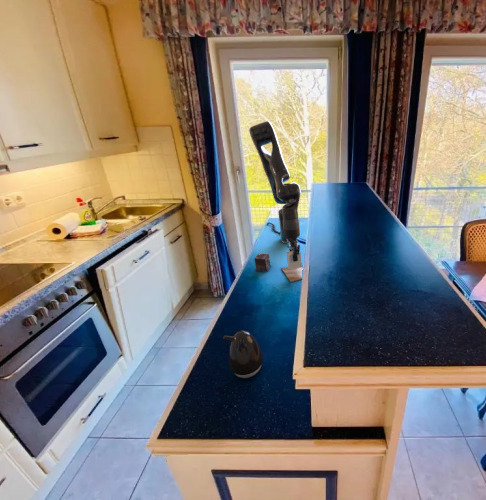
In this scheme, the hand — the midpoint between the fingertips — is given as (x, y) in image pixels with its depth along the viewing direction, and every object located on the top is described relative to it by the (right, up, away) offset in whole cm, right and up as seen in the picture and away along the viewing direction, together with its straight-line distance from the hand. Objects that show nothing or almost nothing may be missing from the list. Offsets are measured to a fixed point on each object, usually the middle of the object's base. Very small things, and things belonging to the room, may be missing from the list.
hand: (293, 258), depth 137 cm
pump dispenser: (-10, -34, -49) cm, 60 cm away
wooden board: (0, -7, +4) cm, 8 cm away
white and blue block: (0, -4, +2) cm, 4 cm away
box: (-17, -6, +9) cm, 20 cm away
